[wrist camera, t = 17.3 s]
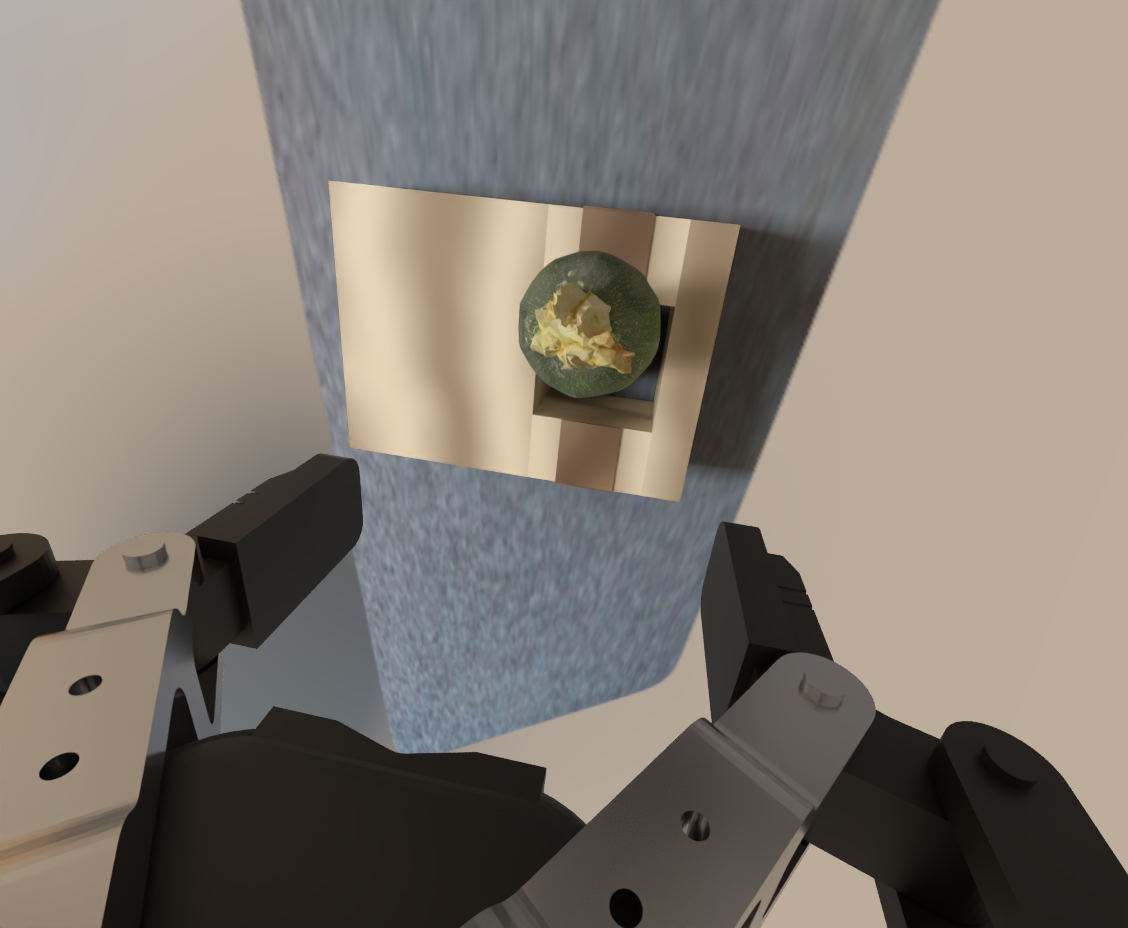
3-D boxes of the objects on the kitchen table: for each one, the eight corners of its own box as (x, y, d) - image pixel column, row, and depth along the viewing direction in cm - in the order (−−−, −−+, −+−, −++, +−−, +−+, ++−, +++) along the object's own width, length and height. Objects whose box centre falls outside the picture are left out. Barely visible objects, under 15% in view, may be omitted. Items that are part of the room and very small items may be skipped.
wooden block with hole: (391, 419, 34) (349, 449, 29) (381, 185, 28) (327, 178, 23) (676, 464, 32) (679, 504, 27) (727, 222, 26) (741, 221, 22)
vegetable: (557, 332, 30) (398, 274, 10) (622, 284, 29) (581, 117, 9) (603, 397, 30) (533, 461, 11) (668, 351, 29) (723, 328, 10)
